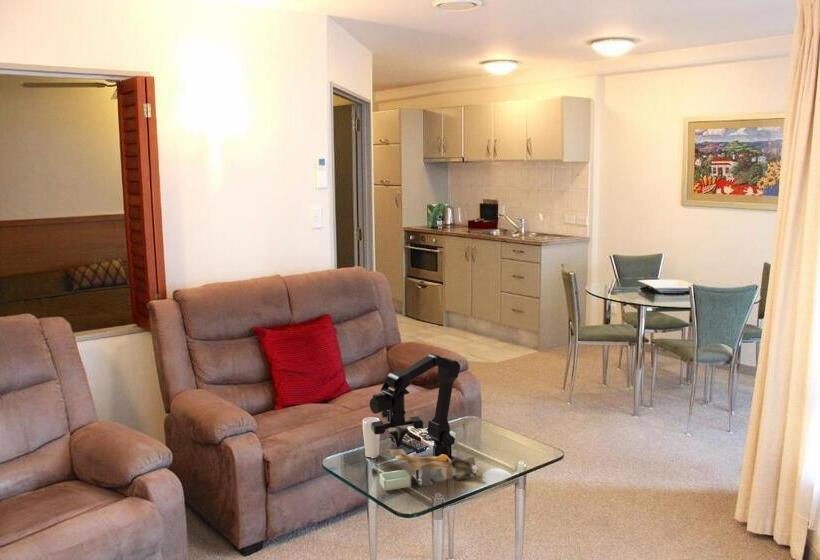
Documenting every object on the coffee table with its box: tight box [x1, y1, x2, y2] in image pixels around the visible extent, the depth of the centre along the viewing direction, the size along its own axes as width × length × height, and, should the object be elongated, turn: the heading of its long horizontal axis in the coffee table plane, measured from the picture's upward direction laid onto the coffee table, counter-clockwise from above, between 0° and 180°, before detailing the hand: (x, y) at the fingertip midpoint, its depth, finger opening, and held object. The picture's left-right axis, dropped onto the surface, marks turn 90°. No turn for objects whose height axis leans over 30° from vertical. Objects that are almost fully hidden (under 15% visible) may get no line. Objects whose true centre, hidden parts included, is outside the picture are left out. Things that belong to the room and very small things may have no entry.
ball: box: [438, 454, 447, 462], centre depth 268 cm, size 3×3×3 cm
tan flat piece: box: [389, 448, 453, 471], centre depth 270 cm, size 20×14×3 cm
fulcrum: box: [412, 465, 454, 488], centre depth 268 cm, size 13×9×7 cm
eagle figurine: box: [451, 458, 479, 481], centre depth 269 cm, size 8×7×9 cm
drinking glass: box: [362, 416, 381, 459], centre depth 286 cm, size 7×7×15 cm
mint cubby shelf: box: [378, 469, 412, 492], centre depth 264 cm, size 10×7×4 cm
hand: (397, 446), depth 271 cm, fingers closed
